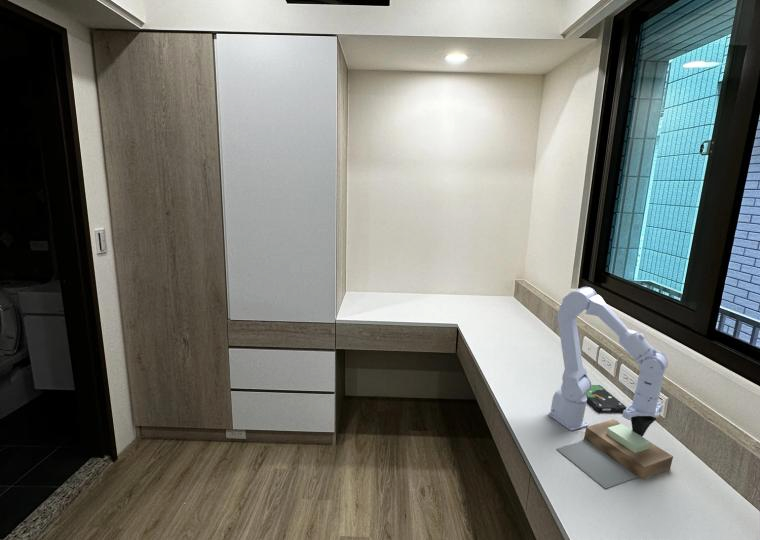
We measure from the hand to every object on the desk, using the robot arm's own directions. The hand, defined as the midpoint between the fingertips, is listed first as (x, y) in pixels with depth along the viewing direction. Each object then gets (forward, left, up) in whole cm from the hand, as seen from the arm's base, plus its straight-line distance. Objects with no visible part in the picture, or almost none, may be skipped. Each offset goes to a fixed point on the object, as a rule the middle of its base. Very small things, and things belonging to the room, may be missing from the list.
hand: (637, 435), depth 118 cm
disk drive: (-23, +14, -6) cm, 27 cm away
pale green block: (0, -4, -1) cm, 4 cm away
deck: (0, -4, -5) cm, 6 cm away
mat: (0, -16, -5) cm, 17 cm away
